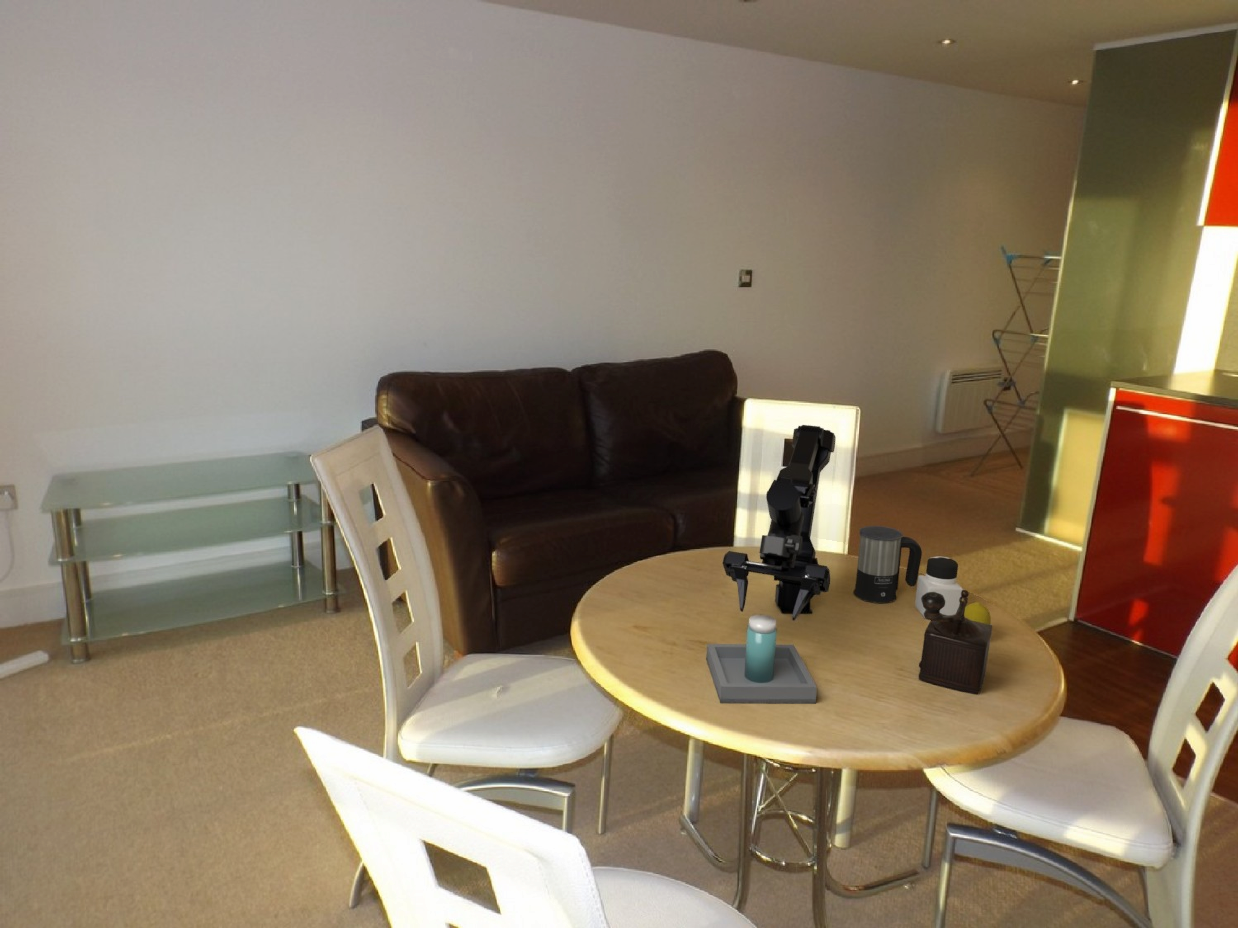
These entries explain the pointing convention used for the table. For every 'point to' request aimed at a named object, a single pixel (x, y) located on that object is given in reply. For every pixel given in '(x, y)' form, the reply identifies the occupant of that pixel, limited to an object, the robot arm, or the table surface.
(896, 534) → the milk frother
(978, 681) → the manual coffee grinder
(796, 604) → the robot arm
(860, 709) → the table surface
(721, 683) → the tray
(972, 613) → the lemon
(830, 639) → the table surface
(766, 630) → the ball
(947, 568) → the medicine bottle
